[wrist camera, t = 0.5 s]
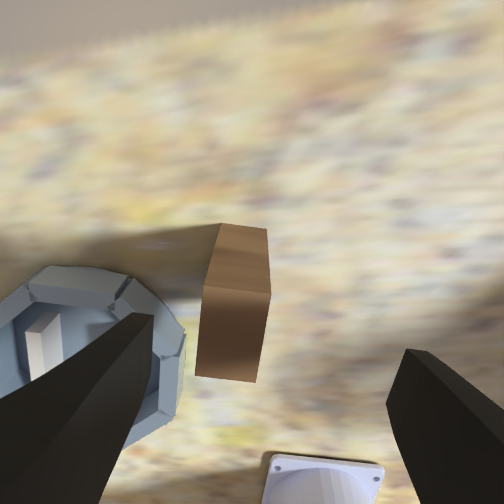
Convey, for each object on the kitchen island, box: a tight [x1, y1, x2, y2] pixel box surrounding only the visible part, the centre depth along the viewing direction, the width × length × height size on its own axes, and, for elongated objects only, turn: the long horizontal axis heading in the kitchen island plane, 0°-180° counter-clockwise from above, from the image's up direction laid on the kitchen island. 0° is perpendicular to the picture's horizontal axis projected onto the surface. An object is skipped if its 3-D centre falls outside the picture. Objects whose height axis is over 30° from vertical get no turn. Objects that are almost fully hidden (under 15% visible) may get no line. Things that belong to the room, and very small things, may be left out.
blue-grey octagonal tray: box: [0, 265, 187, 450], centre depth 21 cm, size 11×11×2 cm
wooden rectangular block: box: [195, 223, 271, 383], centre depth 17 cm, size 4×2×7 cm, turn 172°
